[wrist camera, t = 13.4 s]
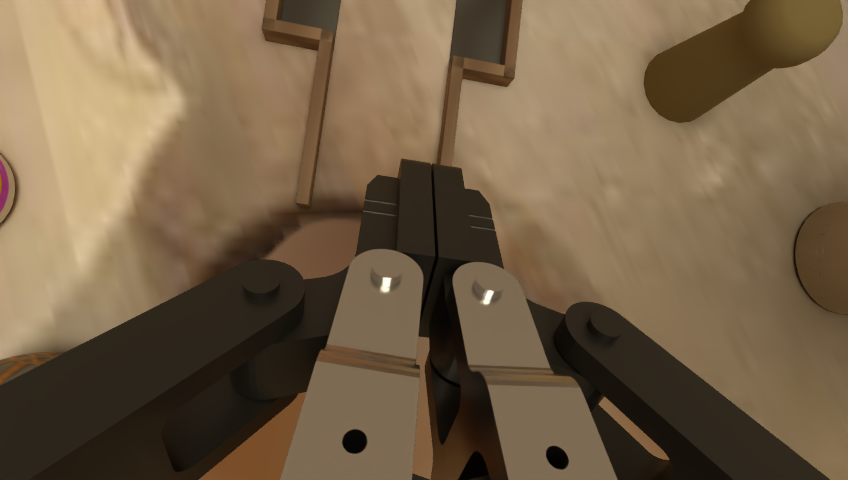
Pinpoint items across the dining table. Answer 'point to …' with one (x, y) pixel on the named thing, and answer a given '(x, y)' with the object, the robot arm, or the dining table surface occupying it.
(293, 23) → the trap lane
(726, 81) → the olive ball-topped cylinder
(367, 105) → the dining table surface
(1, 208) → the supplement bottle
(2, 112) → the dining table surface
